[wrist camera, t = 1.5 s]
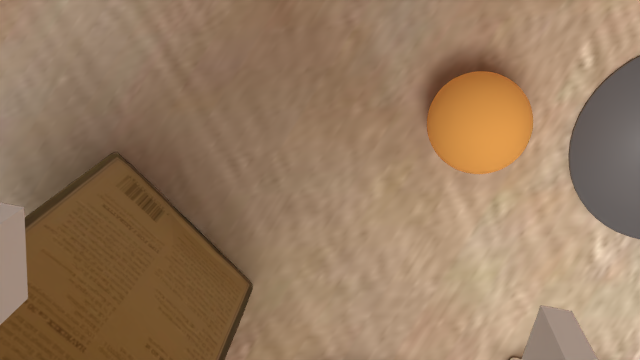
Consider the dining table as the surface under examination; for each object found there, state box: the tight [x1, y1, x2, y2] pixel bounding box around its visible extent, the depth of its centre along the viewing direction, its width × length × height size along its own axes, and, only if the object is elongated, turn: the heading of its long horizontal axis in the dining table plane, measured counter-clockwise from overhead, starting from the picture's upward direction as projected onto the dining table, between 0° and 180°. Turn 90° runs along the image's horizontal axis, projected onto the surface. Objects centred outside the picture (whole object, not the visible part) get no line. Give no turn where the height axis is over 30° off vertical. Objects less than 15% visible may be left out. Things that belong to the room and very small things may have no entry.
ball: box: [427, 71, 533, 174], centre depth 31 cm, size 6×6×6 cm
